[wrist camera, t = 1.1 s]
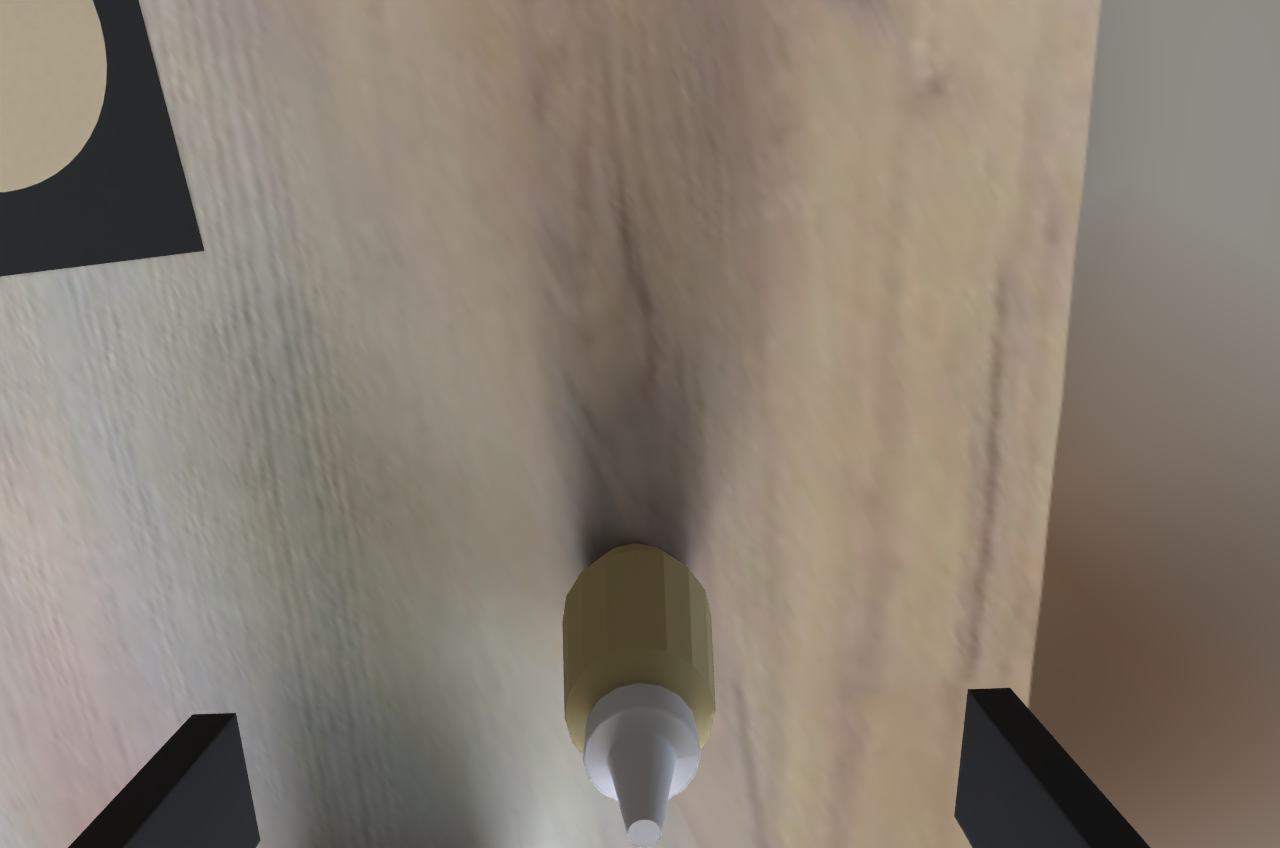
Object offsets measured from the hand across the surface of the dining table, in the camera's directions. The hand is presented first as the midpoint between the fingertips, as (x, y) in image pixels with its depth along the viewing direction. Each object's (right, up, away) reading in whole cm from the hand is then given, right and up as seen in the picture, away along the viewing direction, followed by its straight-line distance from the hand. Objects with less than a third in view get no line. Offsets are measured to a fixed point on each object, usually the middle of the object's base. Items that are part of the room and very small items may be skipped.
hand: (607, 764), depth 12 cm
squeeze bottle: (0, -4, +29) cm, 29 cm away
